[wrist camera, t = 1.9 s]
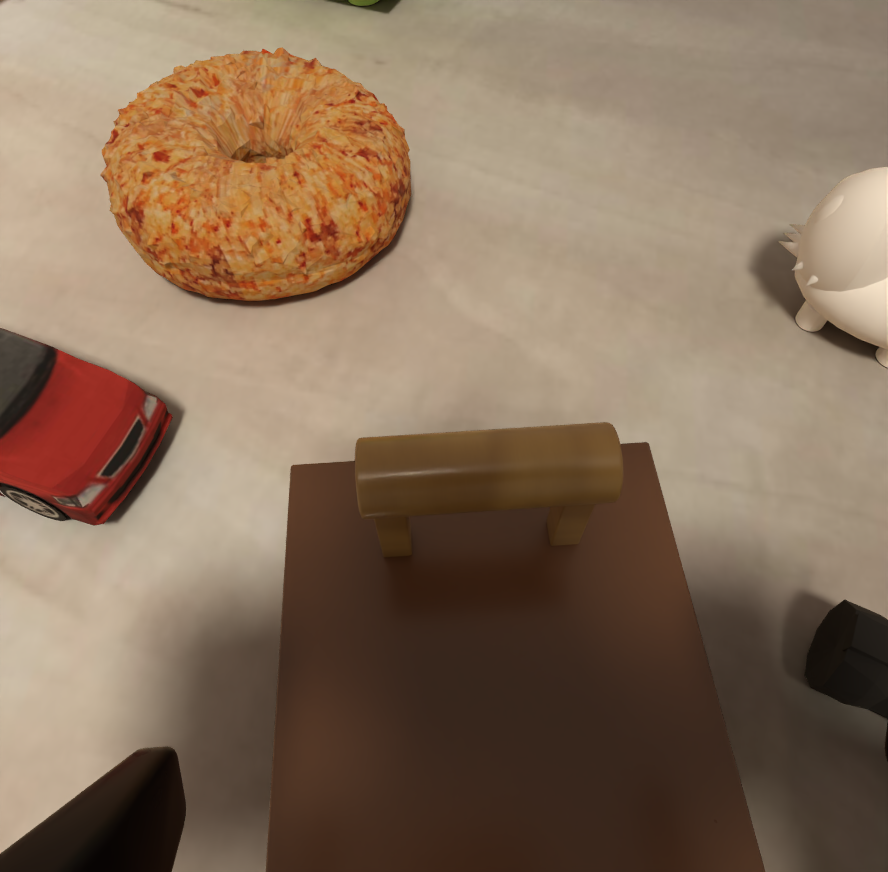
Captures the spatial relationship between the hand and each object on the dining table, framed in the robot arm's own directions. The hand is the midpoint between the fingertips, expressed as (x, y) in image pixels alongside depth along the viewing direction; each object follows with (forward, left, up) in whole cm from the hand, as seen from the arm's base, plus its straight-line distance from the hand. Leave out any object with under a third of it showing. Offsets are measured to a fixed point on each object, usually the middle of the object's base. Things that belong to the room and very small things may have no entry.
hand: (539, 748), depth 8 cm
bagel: (+14, +21, -11) cm, 28 cm away
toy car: (-1, +22, -11) cm, 25 cm away
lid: (+2, +1, -7) cm, 7 cm away
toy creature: (+22, -3, -11) cm, 25 cm away
